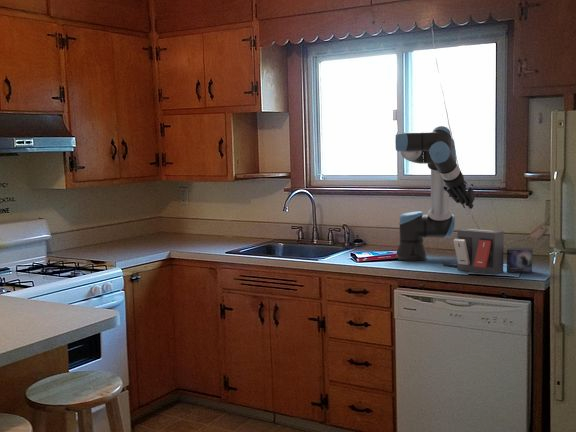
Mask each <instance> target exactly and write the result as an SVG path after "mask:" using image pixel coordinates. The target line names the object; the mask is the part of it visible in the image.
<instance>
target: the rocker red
mask: <svg viewBox="0 0 576 432" xmlns="http://www.w3.org/2000/svg"><path fill="white" fill-rule="evenodd" d="M491 243H492V242H491V241H487V240H479V244H478V248H477V253H476V257H475V262H474V267H478V268H486V266H487V261H488V256H489V252H490V247H491Z"/></svg>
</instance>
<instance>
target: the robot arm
mask: <svg viewBox="0 0 576 432" xmlns="http://www.w3.org/2000/svg"><path fill="white" fill-rule="evenodd" d="M394 140H395V151H396V152H400V154H401V156H402V158H404V159H405V160H407V161H409V162H412V163H413V164H421V165H422V164H424V165H425V164H427V167H428V169H429V170H430V209H429V210H428V211H427V214H425V213H424V211H421V210H419V211H411V212H410V211H409V212H404V213H401V215H400V216H399V222H398V225H399V244H398V248H397V250H396V253H395V254H396V255H395V256H397V258H398V259H397V258H396V259H397V260H400V261H410V262H411V261H414V262H415V261H424V260H425V261H426V260H427V259H428V253H427V251H426V248H425V245H424V238H427V239H428V238H429V239H431V238H433V239H434V238H435V239H436V238H439V239H440V238H441V239H446V238H452V236H453V234H454V231H455V223H456V216H455V214H453V212H452V211H451V209H450V197H451V198H452V200H454V202H456V204H459V203H460V204H461V205H462V207H463V209H465V210H466V212H467V214H468V215H469V216H473V215H474V212H475V208H474V204H473V203H474V201H475V195H474V194H475V193H474V186H475V185H474V184H472V183H470V184H468V183H467V181H465V177H464V175H463V173H462V170H461V169H460V167H459V164H458V163H457V154H456V147H455V144H456V143H455V140H454V139H453V137H452V133H451V130H450V129H449V128H448V127H447V126H442V125H440V126H437V127H434V128H433V130H432V131H421V132H398V133H396V134H395V139H394Z"/></svg>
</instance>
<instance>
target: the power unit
mask: <svg viewBox="0 0 576 432" xmlns="http://www.w3.org/2000/svg"><path fill="white" fill-rule="evenodd" d="M456 232H457V238H456V239H464V240H465V241H466V246H467V251H468V255H469V260H470V264H469V265H464V264H458V260H457V264H455V263H444V262H443V263H442V265H443V266H444V267H452V268H457V271H464V272H465V271H466V272H474V273H482V274H488V273H490V275H498V274H500V273H502V272H503V273H504V234H505V232H504V230H493V229H479V228H468V227H467V228H462V229H458V230H457V231H456ZM479 240H487V241H491V242H492V243H491V247H490V252H489V256H488V261H487V266H486V268H478V267H474V262H475V257H476V253H477V248H478V244H479Z"/></svg>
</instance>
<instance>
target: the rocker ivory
mask: <svg viewBox="0 0 576 432" xmlns="http://www.w3.org/2000/svg"><path fill="white" fill-rule="evenodd" d="M453 244H454V245H453V246H454V250H455V255H456V259H457V260H458V264H464V265H469V264H470V260H469V255H468V251H467V246H466V241H465V240H464V239H457V238H453Z"/></svg>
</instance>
